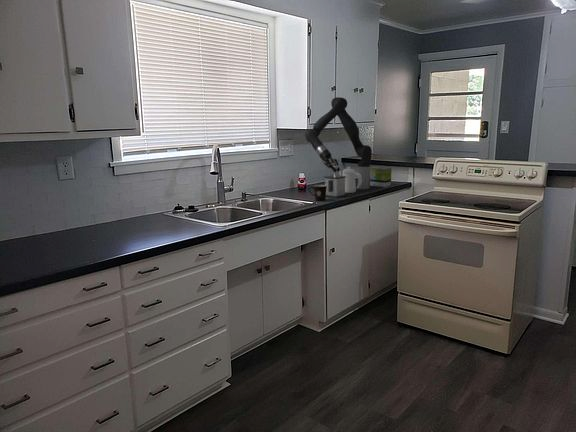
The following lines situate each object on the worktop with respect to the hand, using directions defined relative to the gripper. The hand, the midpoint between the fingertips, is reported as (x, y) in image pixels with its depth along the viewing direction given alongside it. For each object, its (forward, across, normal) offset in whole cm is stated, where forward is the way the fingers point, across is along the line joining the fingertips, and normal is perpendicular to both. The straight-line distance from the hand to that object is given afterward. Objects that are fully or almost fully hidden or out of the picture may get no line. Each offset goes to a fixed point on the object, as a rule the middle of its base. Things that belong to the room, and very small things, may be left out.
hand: (337, 171), depth 304 cm
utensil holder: (+11, 0, +14) cm, 18 cm away
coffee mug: (+11, -19, +14) cm, 26 cm away
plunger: (+10, 0, +13) cm, 16 cm away
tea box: (+12, +61, +14) cm, 64 cm away
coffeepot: (+9, +21, +16) cm, 28 cm away
